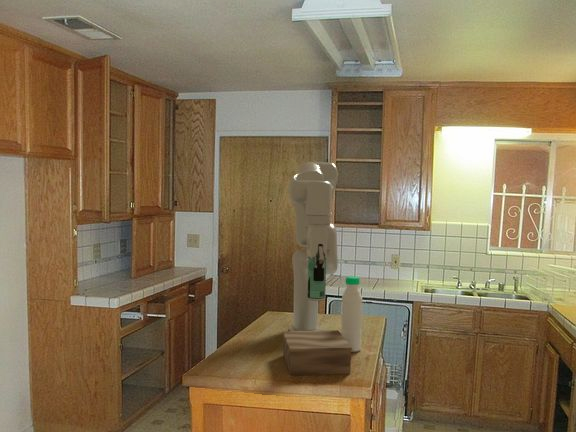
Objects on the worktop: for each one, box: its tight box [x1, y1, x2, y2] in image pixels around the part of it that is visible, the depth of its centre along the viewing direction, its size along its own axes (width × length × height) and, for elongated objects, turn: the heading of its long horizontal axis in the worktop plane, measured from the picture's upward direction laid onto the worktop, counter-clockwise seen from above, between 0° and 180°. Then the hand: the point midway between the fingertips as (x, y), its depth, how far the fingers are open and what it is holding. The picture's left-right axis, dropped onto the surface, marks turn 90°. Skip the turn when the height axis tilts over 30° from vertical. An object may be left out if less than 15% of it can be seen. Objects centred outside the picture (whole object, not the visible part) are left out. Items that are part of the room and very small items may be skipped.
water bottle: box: [340, 275, 363, 353], centre depth 173 cm, size 7×7×25 cm
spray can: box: [308, 254, 327, 302], centre depth 157 cm, size 6×6×20 cm
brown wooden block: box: [282, 329, 352, 376], centre depth 158 cm, size 19×19×8 cm
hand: (316, 278), depth 157 cm, fingers closed on spray can, 5 cm apart
